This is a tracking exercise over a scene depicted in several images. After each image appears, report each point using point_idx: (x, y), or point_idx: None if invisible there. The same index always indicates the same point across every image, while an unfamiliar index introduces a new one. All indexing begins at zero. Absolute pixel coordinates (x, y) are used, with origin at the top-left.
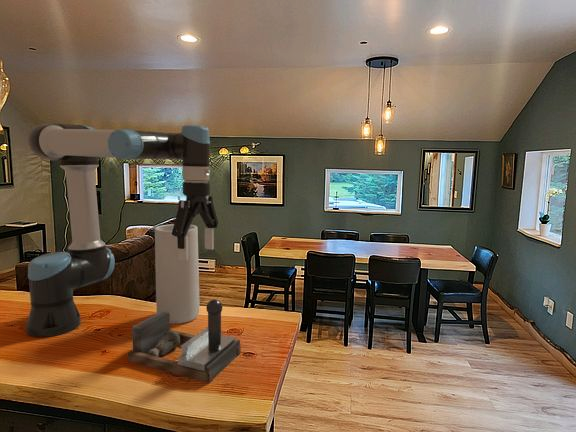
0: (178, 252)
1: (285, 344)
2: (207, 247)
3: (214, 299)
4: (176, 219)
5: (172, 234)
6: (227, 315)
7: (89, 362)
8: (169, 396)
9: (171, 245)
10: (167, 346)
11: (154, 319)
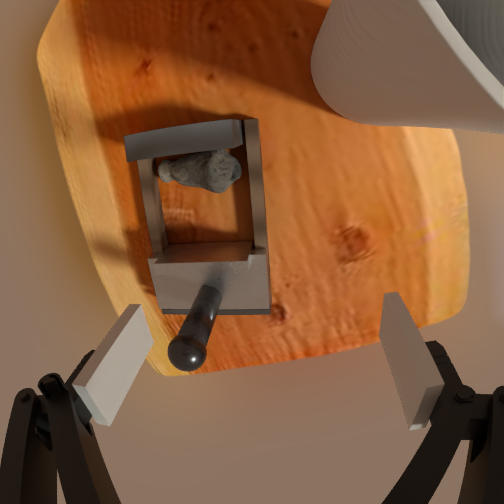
0: (115, 325)
1: (336, 346)
2: (385, 313)
3: (185, 363)
4: (6, 466)
5: (22, 394)
6: (421, 184)
7: (108, 82)
8: (118, 270)
9: (377, 33)
10: (190, 186)
11: (180, 146)
